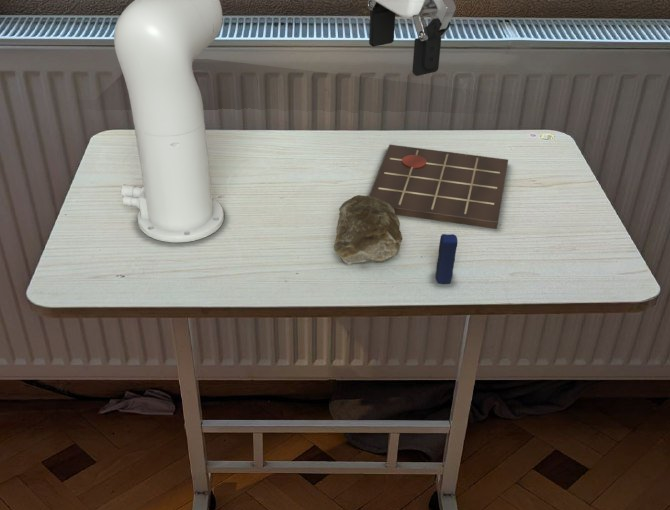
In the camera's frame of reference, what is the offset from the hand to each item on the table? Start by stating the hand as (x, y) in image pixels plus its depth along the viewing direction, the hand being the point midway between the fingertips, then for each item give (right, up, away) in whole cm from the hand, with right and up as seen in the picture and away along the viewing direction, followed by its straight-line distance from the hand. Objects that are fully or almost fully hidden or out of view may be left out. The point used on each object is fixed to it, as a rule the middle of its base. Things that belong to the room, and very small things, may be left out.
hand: (402, 58), depth 98 cm
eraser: (+7, -24, +17) cm, 30 cm away
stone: (-4, -18, +22) cm, 29 cm away
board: (+9, -6, +35) cm, 36 cm away
